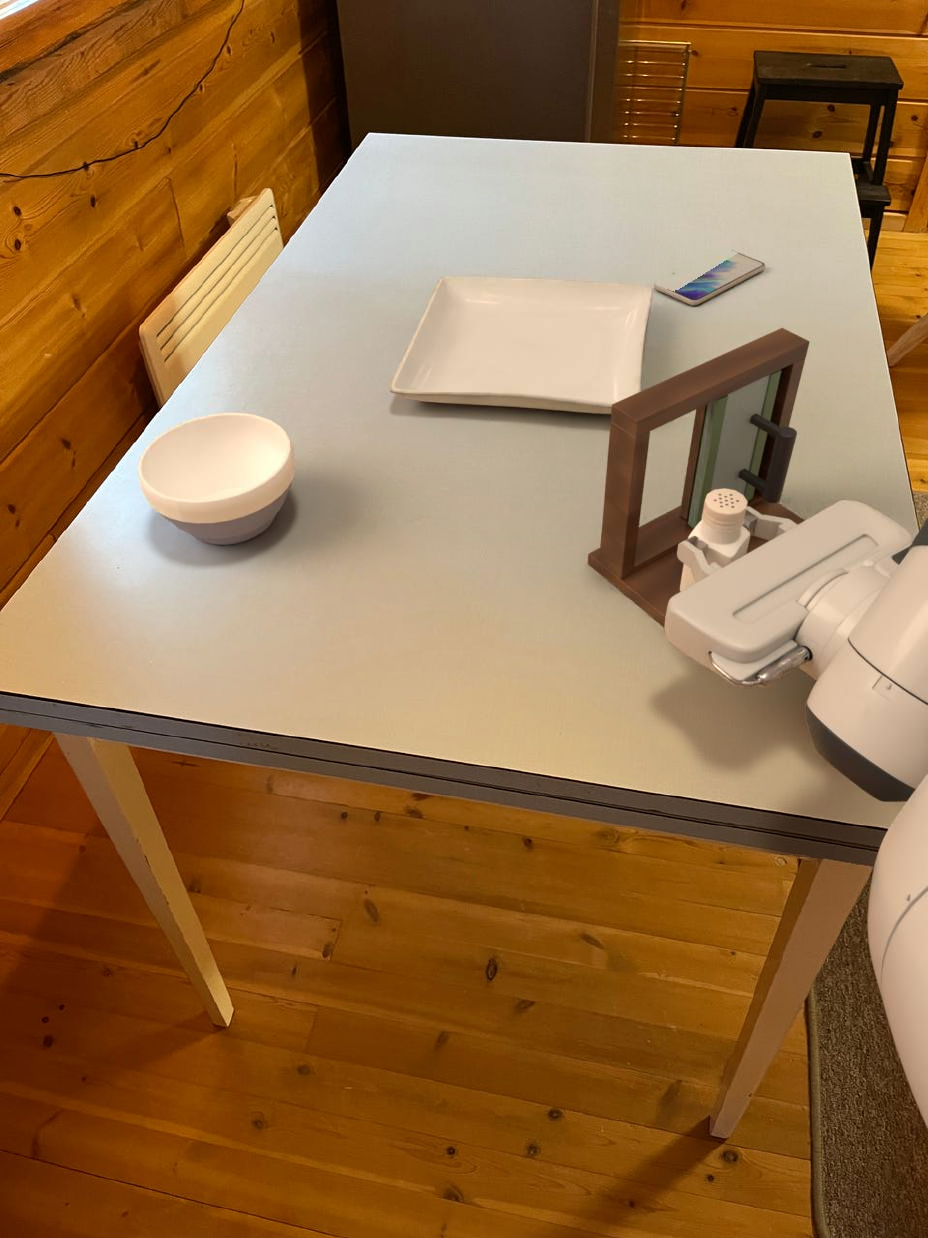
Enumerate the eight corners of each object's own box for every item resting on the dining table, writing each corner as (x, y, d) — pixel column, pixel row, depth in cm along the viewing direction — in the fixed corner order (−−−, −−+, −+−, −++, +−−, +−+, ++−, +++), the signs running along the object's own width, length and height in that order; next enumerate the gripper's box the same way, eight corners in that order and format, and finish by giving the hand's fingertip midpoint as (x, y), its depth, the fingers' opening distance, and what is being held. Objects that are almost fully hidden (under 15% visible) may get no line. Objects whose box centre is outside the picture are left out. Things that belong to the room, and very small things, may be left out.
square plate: (441, 300, 122) (439, 271, 119) (651, 311, 118) (654, 282, 115) (389, 414, 104) (385, 384, 101) (635, 433, 99) (639, 402, 96)
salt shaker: (720, 613, 76) (739, 523, 69) (676, 594, 78) (690, 505, 71) (741, 585, 78) (761, 495, 71) (697, 567, 80) (713, 478, 73)
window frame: (849, 560, 84) (907, 389, 71) (695, 653, 77) (730, 482, 64) (734, 485, 92) (768, 320, 80) (587, 563, 85) (599, 395, 73)
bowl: (328, 485, 95) (317, 422, 90) (266, 578, 86) (249, 514, 80) (203, 464, 99) (185, 402, 93) (130, 552, 89) (105, 489, 84)
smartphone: (768, 263, 123) (694, 301, 117) (766, 269, 124) (693, 308, 118) (724, 246, 127) (651, 282, 121) (723, 252, 128) (650, 288, 121)
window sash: (787, 521, 85) (822, 391, 75) (729, 554, 82) (757, 423, 72) (744, 493, 88) (772, 365, 78) (687, 524, 85) (709, 394, 75)
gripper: (742, 726, 64) (610, 613, 72) (928, 601, 72) (790, 512, 80) (758, 665, 60) (615, 553, 68) (956, 539, 67) (806, 451, 76)
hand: (711, 530), depth 74 cm, fingers closed on salt shaker, 4 cm apart
